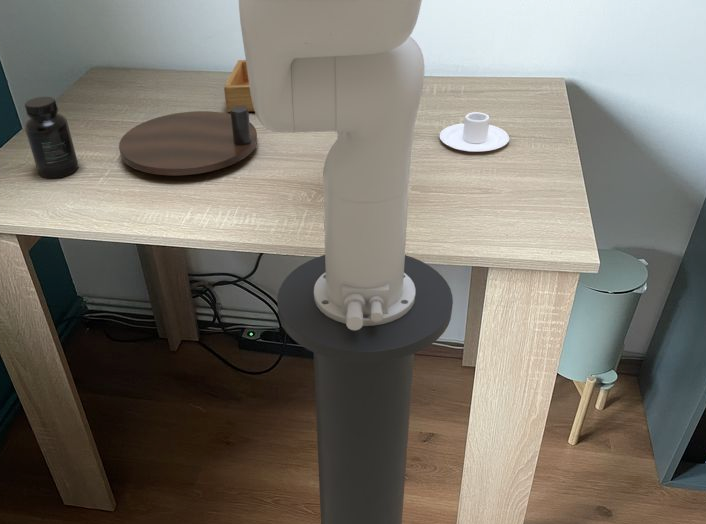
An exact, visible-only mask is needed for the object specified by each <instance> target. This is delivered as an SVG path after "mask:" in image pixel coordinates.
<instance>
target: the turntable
mask: <svg viewBox="0 0 706 524" xmlns="http://www.w3.org/2000/svg"><path fill="white" fill-rule="evenodd" d="M249 113H250V111H248V107H246V106H241V105H240V106H234V107H232V108H231V109H230V112H229V113H228V112H227V113H226V112H222V111H221V112H220V111H211V110H210V111H207V110H203V111H202V110H196V111H183V112H176V113H171V114H165V115H161V116H158V117H154V118H152V119H149V120H146V121H143V122H141V123H139V124H137V125H135V126H134V127H132V128H131V129H129V130H128V131H127V132H126V133H125V134H124V135H122V137H121V139H120V141H119V143H118V149H119V150H118V151H119V153H120V158H121V159H122V161H123V162H124V163H125V164H126V165H128V166H129V167H131V168H133V169H134V170H136V171H140V172H144V173H147V174H152V175H159V176H160V175H161V176H189V175H191V176H192V175H198V174H199V175H200V174H204V173H210V172H214V171H217V170H221V169H224V168H227V167H229V166H232V165H234V164H236V163H239V162H240V161H242V160H244V159H245V158H247V157H248V156H250V154H251V153H252V152H253V151H254V150H255V148H256V147H257V144H258V132H257V129H256V127H255V125H253V123H251V122H250V114H249Z"/></svg>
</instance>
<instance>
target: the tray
mask: <svg viewBox="0 0 706 524" xmlns="http://www.w3.org/2000/svg"><path fill="white" fill-rule="evenodd" d="M223 91H224V99H225V105H226V106H225V107H226V111H227V113H230V109H231V108H232V107H234V106H240V105H241V106H246V107H248V112H255V111H254V107H253V103H252V98H251V93H250V87H249V80H248V72H247V65H246V59H239V60H237V62H236V63H235V65H234V68H233V70H232V71H231V72H230V75H229V77H228V79H227V81H226V82H225V85H224V86H223Z"/></svg>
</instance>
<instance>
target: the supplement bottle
mask: <svg viewBox="0 0 706 524" xmlns="http://www.w3.org/2000/svg"><path fill="white" fill-rule="evenodd" d="M24 108H25V111H26V116H27V117H28V118H27V119H26V121H25V123H24V130H25V134H26V138H27V140H28V143H29V146H30V150H31V153H32V156H33V160H34V163H35V166H36V170H37V173H38V174H39V175H40V176H42V177H43V178H47V179H60V178H64V177H67V176H70V175H72V174H74V173H75V172H77V170H78V168H79V162H78V157H77V153H76V150H75V146H74V141H73V138H72V135H71V130H70V127H69V123H68V119H67V117H65V115H64V114H62V113H60V112H59V107H58V105H57V101H56V99H55V98H54V97H52V96H46V95H45V96H37V97H32V98H30V99H28V100H26V102H25V103H24Z"/></svg>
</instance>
